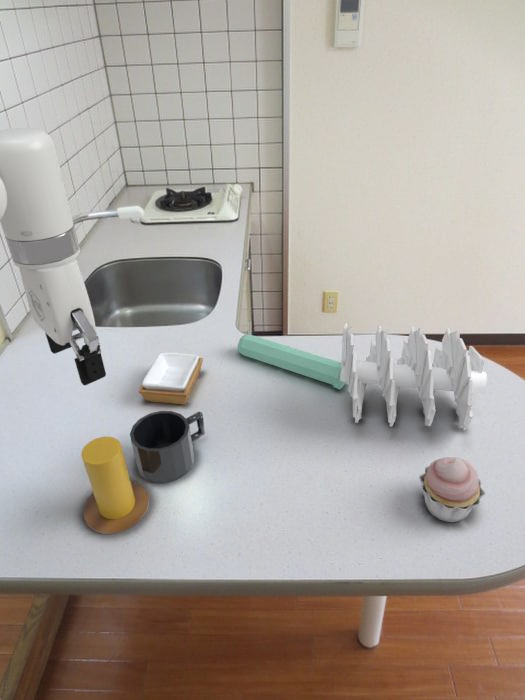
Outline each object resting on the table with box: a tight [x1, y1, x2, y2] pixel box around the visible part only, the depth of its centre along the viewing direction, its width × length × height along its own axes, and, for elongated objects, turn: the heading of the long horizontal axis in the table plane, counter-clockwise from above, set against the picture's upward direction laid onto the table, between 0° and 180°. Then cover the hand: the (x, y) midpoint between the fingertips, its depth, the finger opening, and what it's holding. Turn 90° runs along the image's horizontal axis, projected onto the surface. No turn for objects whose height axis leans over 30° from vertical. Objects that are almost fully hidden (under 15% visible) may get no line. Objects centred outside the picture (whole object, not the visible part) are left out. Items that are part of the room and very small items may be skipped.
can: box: [80, 436, 135, 519], centre depth 79 cm, size 6×6×12 cm
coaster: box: [83, 480, 150, 535], centre depth 83 cm, size 10×10×1 cm
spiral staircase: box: [340, 322, 488, 431], centre depth 93 cm, size 18×18×25 cm
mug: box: [129, 410, 206, 484], centre depth 89 cm, size 13×10×8 cm
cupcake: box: [418, 456, 486, 523], centre depth 78 cm, size 9×9×10 cm
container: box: [237, 333, 346, 391], centre depth 110 cm, size 6×6×25 cm
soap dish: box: [137, 351, 204, 405], centre depth 106 cm, size 12×10×5 cm
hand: (78, 364), depth 70 cm, fingers open, 9 cm apart
